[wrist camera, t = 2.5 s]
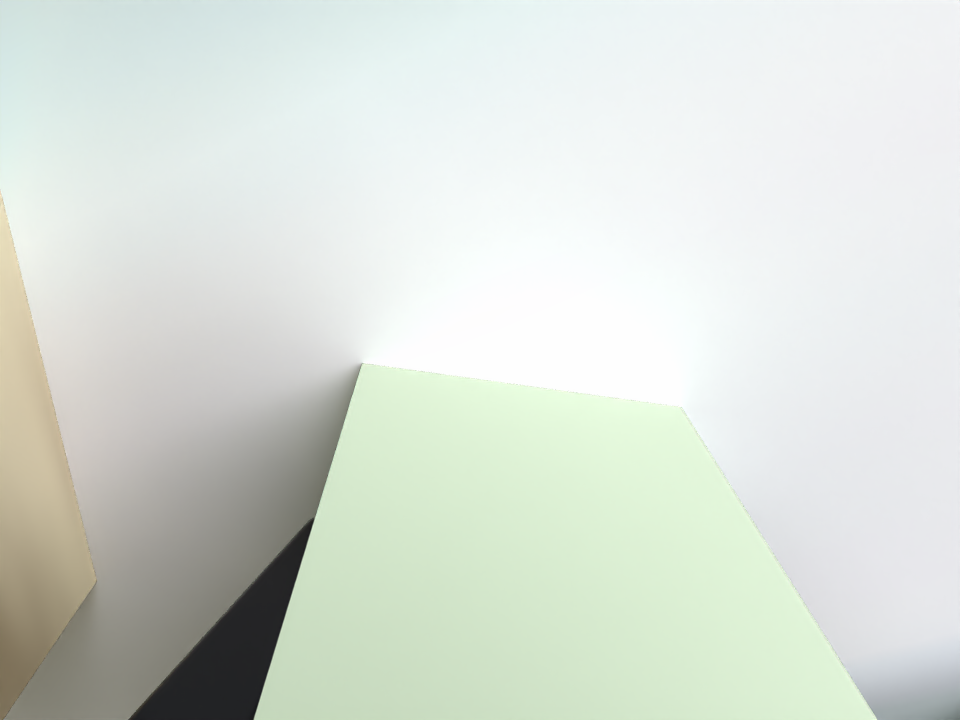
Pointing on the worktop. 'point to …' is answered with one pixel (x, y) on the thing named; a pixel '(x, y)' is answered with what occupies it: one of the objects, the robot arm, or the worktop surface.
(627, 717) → the sage cube
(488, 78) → the worktop surface
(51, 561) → the birch block
